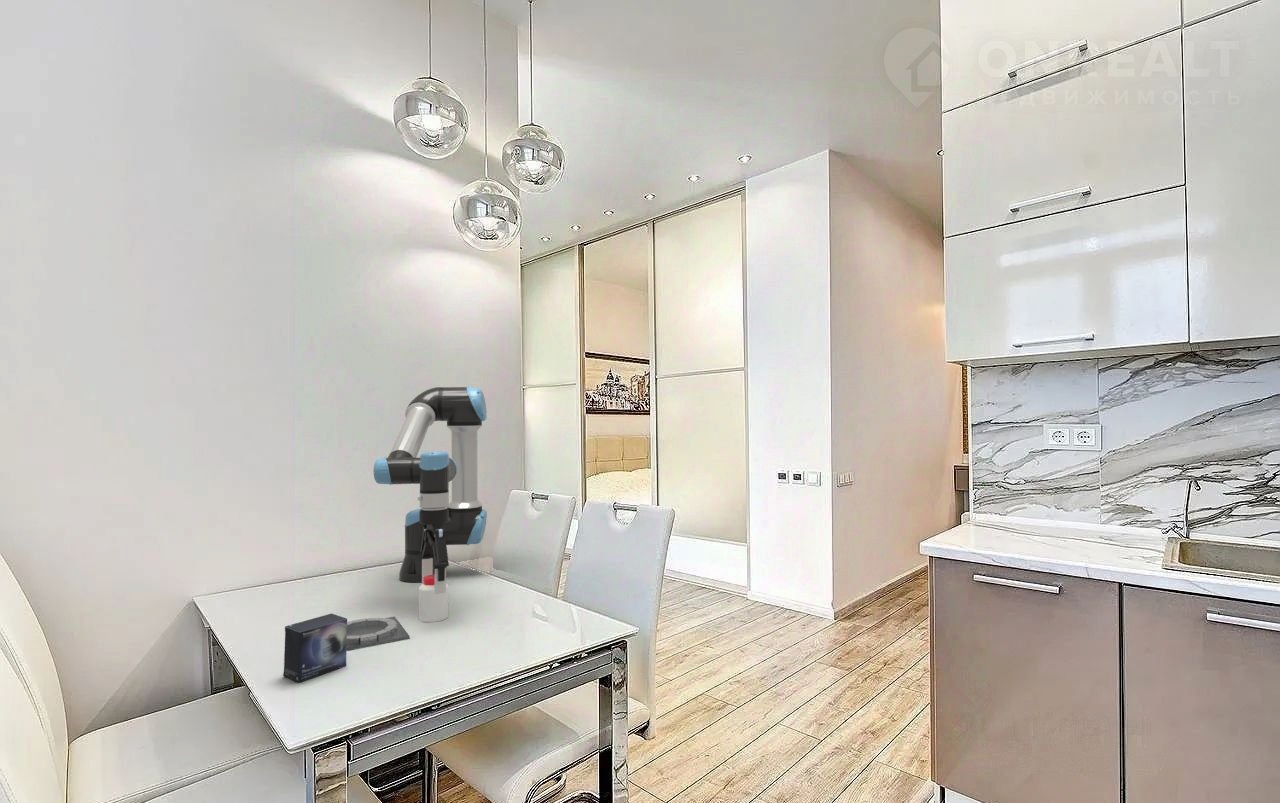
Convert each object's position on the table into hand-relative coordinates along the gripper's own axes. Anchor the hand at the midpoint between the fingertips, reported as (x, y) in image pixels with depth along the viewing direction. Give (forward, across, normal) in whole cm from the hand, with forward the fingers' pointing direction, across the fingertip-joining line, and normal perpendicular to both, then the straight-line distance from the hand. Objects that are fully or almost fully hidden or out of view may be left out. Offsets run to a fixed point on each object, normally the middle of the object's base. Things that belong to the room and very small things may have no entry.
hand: (433, 587), depth 164 cm
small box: (+9, +22, -30) cm, 38 cm away
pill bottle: (+8, 0, 0) cm, 8 cm away
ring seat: (+8, +4, -18) cm, 20 cm away
